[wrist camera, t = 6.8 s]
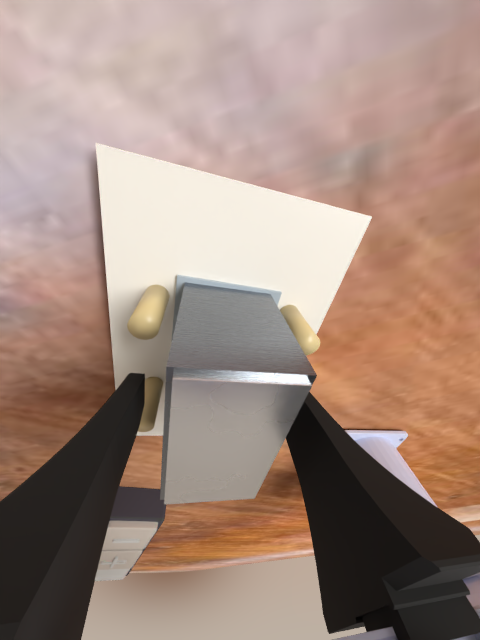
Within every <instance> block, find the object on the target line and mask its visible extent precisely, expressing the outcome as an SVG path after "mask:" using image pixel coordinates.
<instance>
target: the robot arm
mask: <svg viewBox="0 0 480 640" xmlns="http://www.w3.org/2000/svg"><path fill="white" fill-rule="evenodd" d="M144 404H145V374H142V373H129V374H128V375H127V376H126V378H125V379H124V380H123V382H122V383H121V384H120V386H119V387H118V388H117V390H116V391H115V392H114V393H113V394H112V396H111V397H110V398H109V399H108V400H107V402H106V403H105V404H104V405H103V406H102V407H101V408H100V410H99V411H98V412H97V413H96V414H95V415H94V416H93V417H92V418H91V419H90V421H89V422H88V423H87V424H86V425H85V426H84V427H83V428H82V429H81V430H80V431H79V432H78V433H77V434H76V435H75V436H74V437H73V438H72V439H71V440H70V441H69V442H68V443H67V444H66V445H65V446H64V447H63V448H62V449H61V450H60V451H58V452H57V453H56V454H55V455H54V456H53V457H52V458H51V459H50V460H49V461H48V462H47V463H45V464H44V465H43V466H42V467H41V468H40V469H39V470H37V471H36V472H35V473H34V474H33V475H32V476H30V477H29V478H28V479H27V480H26V481H25V482H24V483H22V484H21V485H20V486H19V487H18V488H16V489H15V490H14V491H13V492H12V493H10V494H9V495H8V496H7V497H5V498H4V499H3V500H2V501H0V640H81V637H82V633H83V628H84V624H85V620H86V615H87V611H88V606H89V602H90V598H91V594H92V590H93V586H94V581H95V577H96V573H97V569H98V565H99V561H100V557H101V553H102V549H103V545H104V541H105V537H106V533H107V529H108V525H109V521H110V517H111V513H112V509H113V505H114V501H115V498H116V494H117V491H118V487H119V484H120V481H121V478H122V475H123V472H124V469H125V467H126V464H127V461H128V458H129V455H130V452H131V449H132V446H133V443H134V441H135V438H136V435H137V432H138V429H139V426H140V421H141V417H142V413H143V409H144ZM407 437H408V434H407V433H406V431H381V430H344V429H343V428H342V427H341V426H340V425H339V424H338V423H337V422H336V421H335V420H334V419H333V418H332V417H331V416H330V414H329V413H328V412H327V411H326V410H325V409H324V408H323V407H322V406H321V404H320V403H319V402H318V401H317V400H316V399H315V398H314V397H313V395H312V394H311V393H310V392H309V393H308V395H307V397H306V399H305V401H304V403H303V405H302V406H301V408H300V410H299V412H298V414H297V416H296V418H295V420H294V422H293V424H292V426H291V428H290V430H289V432H288V434H287V436H286V440H287V443H288V446H289V449H290V452H291V455H292V459H293V462H294V465H295V468H296V471H297V474H298V478H299V481H300V485H301V489H302V493H303V498H304V502H305V507H306V512H307V516H308V521H309V526H310V531H311V537H312V542H313V548H314V554H315V560H316V566H317V572H318V579H319V586H320V593H321V600H322V608H323V615H324V618H325V622H326V626H327V629H328V632H329V634H331V633H335V632H339V631H345V630H350V629H354V628H359V627H364V626H365V628H366V631H367V632H365V633H361V634H356V635H351V636H347V637H342V638H338V639H333V640H480V542H479V541H478V540H477V538H476V537H475V535H474V534H473V533H472V531H471V530H470V529H469V528H467V527H466V526H464V525H463V524H461V523H460V522H458V521H457V520H455V519H454V518H452V517H451V516H449V515H448V514H446V513H445V512H443V511H442V510H440V509H439V508H438V507H437V506H436V504H435V503H434V501H433V500H432V499H431V497H430V496H429V494H428V493H427V492H426V490H425V489H424V487H423V486H422V485H421V483H420V482H419V480H418V479H417V478H416V476H415V475H414V473H413V472H412V470H411V469H410V468H409V466H408V465H407V463H406V462H405V461H404V459H403V458H402V456H401V455H400V454H399V452H398V451H397V449H396V448H397V447H398V446H399V445H400V444H401V443H402V442H403V441H404V440H405V439H406V438H407Z"/></svg>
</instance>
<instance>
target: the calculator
mask: <svg viewBox="0 0 480 640" xmlns="http://www.w3.org/2000/svg"><path fill="white" fill-rule="evenodd" d="M160 493H161V489H147V488H134V487H121V486H119V487H118V491H117V494H116V498H115V501H114V505H113V509H112V513H111V517H110V521H109V525H108V529H107V533H106V537H105V541H104V545H103V549H102V553H101V557H100V561H99V565H98V569H97V573H96V577H95V581H106V580H122V579H124V577H125V576H127V575H128V574H129V572H130V571H131V569H132V568H133V566H134V565H135V563H136V562H137V560H138V559H139V557H140V556H141V554H142V553H143V551H144V550H145V548H146V547H147V545H148V544H149V542H150V541H151V539H152V538H153V536H154V535H155V533H156V532H157V530H158V529H159V527H160V526H161V524H162V523H163V521H164V519H165V510H166V504H164V500H160Z"/></svg>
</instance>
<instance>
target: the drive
mask: <svg viewBox="0 0 480 640" xmlns="http://www.w3.org/2000/svg"><path fill="white" fill-rule="evenodd" d="M316 376H317V375H316V373H315V371H314V370H313V368H312V366H311V364H310V363H309V361H308V359H307V357H306V356H305V354H304V352H303V350H302V349H301V347H300V345H299V343H298V341H297V340H296V338H295V336H294V334H293V333H292V331H291V329H290V327H289V326H288V324H287V322H286V320H285V319H284V317H283V315H282V313H281V312H280V310H279V308H278V306H277V305H276V303H275V301H274V299H273V297H272V296H271V294H267V293H260V292H252V291H245V290H238V289H230V288H223V287H216V286H209V285H201V284H194V283H187V282H185V284H184V289H183V293H182V298H181V303H180V307H179V312H178V316H177V321H176V325H175V330H174V334H173V339H172V343H171V348H170V352H169V357H168V361H167V366H166V385H165V406H164V428H163V449H162V471H161V493H160V500H164V504H179V503H194V502H209V501H225V500H240V499H255V497H256V495H257V493H258V491H259V489H260V487H261V485H262V483H263V481H264V479H265V477H266V475H267V473H268V471H269V469H270V467H271V465H272V463H273V461H274V459H275V457H276V456H277V454H278V452H279V450H280V448H281V446H282V444H283V442H284V440H285V438H286V436H287V434H288V432H289V430H290V428H291V426H292V424H293V422H294V420H295V418H296V416H297V414H298V412H299V410H300V408H301V406H302V405H303V403H304V401H305V399H306V397H307V395H308V393H309V391H310V389H311V387H312V384H313V382H314V380H315V378H316Z"/></svg>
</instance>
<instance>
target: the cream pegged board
mask: <svg viewBox="0 0 480 640" xmlns="http://www.w3.org/2000/svg"><path fill="white" fill-rule="evenodd" d="M96 155H97V167H98V179H99V192H100V204H101V217H102V229H103V242H104V254H105V266H106V279H107V291H108V304H109V316H110V329H111V341H112V354H113V366H114V378H115V391H116V390H117V388H118V387H119V386H120V384H121V383H122V382H123V380H124V379H125V378H126V376H127V375H128V374H129V373H142V374H145V404H144V409H143V413H142V417H141V421H140V426H139V429H138V432H137V435H136V436H163V428H164V406H165V385H166V366H167V361H168V357H169V352H170V348H171V343H172V339H173V334H174V330H175V325H176V321H177V316H178V312H179V307H180V303H181V298H182V293H183V289H184V284H185V282H187V283H194V284H201V285H209V286H216V287H223V288H230V289H238V290H245V291H252V292H260V293H267V294H271V296H272V297H273V299H274V301H275V303H276V305H277V306H278V308H279V310H280V312H281V313H282V315H283V317H284V319H285V320H286V322H287V324H288V326H289V327H290V329H291V331H292V333H293V334H294V336H295V338H296V340H297V341H298V343H299V345H300V347H301V349H302V350H303V352H304V354H305V356H306V355H309V354H312V353H314V352H315V351H316V350H317V349H318V348H319V346H320V340H319V338H318V337H317V335H316V334H317V332H318V330H319V328H320V326H321V324H322V321H323V319H324V317H325V315H326V313H327V311H328V309H329V307H330V305H331V303H332V300H333V298H334V296H335V294H336V292H337V290H338V288H339V286H340V284H341V281H342V279H343V277H344V275H345V273H346V271H347V269H348V267H349V265H350V262H351V260H352V258H353V256H354V254H355V252H356V250H357V248H358V246H359V244H360V241H361V239H362V237H363V235H364V233H365V231H366V229H367V227H368V225H369V222H370V220H371V218H372V217H371V216H367V215H364V214H360V213H356V212H352V211H349V210H345V209H341V208H337V207H334V206H330V205H326V204H323V203H319V202H315V201H311V200H308V199H304V198H300V197H296V196H293V195H289V194H285V193H281V192H278V191H274V190H270V189H267V188H263V187H259V186H255V185H252V184H248V183H244V182H240V181H237V180H233V179H229V178H225V177H222V176H218V175H214V174H211V173H207V172H203V171H199V170H196V169H192V168H188V167H184V166H181V165H177V164H173V163H169V162H166V161H162V160H158V159H154V158H151V157H147V156H143V155H140V154H136V153H132V152H128V151H125V150H121V149H117V148H113V147H110V146H106V145H102V144H98V143H96Z"/></svg>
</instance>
